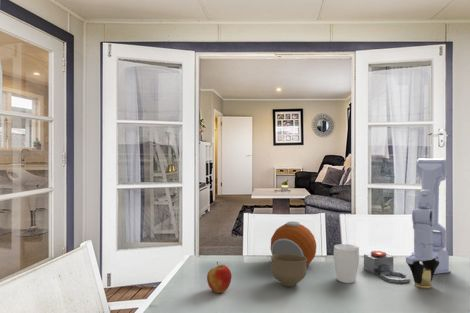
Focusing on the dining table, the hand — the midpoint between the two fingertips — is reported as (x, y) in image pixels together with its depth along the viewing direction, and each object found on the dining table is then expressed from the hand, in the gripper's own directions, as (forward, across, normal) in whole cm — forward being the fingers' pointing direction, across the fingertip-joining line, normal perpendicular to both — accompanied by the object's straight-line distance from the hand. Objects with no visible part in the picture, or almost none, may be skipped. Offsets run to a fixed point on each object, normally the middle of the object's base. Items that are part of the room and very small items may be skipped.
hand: (423, 281), depth 124 cm
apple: (+2, +67, -24) cm, 71 cm away
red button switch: (+1, +2, -14) cm, 15 cm away
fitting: (+2, 0, 0) cm, 2 cm away
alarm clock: (+2, +28, -40) cm, 48 cm away
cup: (+2, +20, -16) cm, 26 cm away
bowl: (+2, +42, -20) cm, 47 cm away
